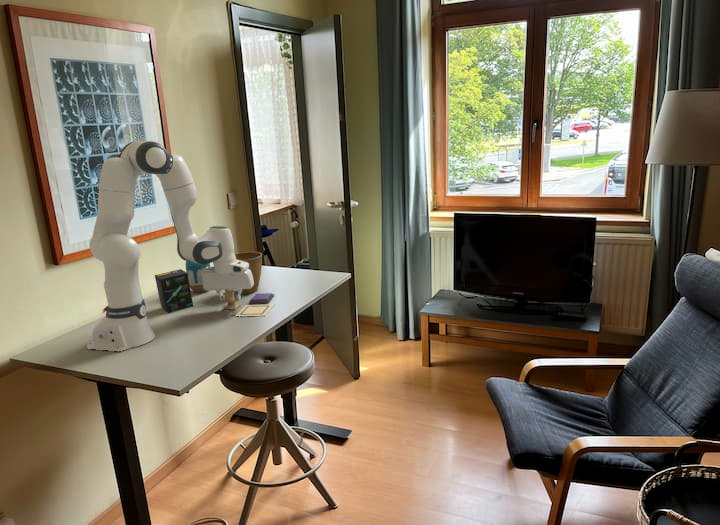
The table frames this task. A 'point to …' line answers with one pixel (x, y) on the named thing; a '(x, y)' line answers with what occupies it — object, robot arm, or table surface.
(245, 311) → the sheet
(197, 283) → the vase
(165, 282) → the tampon box
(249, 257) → the plant pot
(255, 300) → the ink pad
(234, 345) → the table surface
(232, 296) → the stamp
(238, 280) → the robot arm
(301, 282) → the table surface
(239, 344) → the table surface
